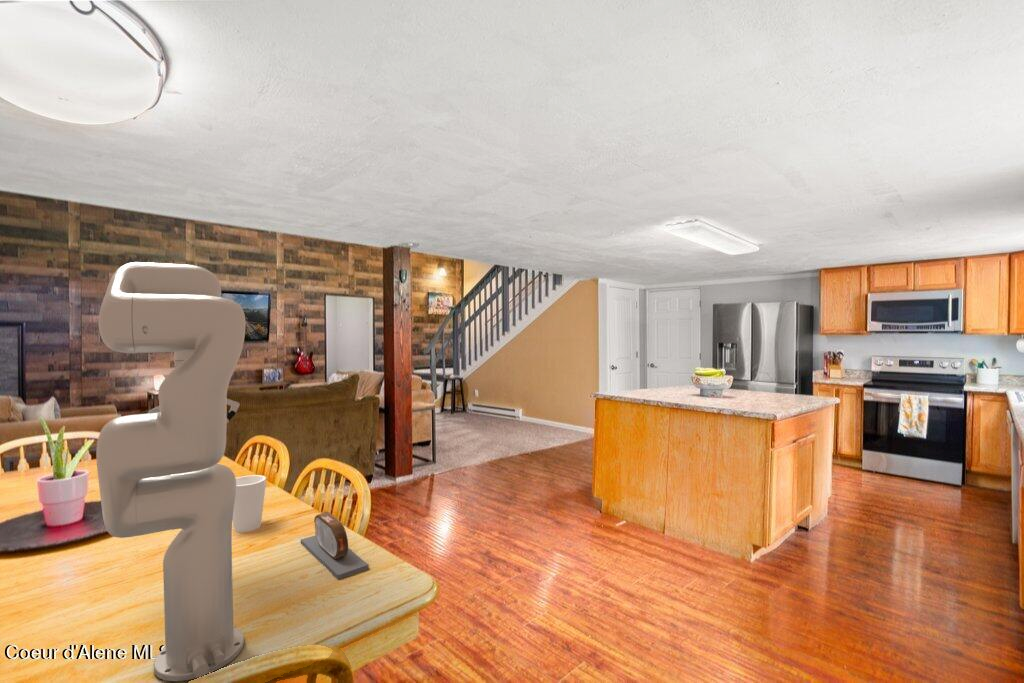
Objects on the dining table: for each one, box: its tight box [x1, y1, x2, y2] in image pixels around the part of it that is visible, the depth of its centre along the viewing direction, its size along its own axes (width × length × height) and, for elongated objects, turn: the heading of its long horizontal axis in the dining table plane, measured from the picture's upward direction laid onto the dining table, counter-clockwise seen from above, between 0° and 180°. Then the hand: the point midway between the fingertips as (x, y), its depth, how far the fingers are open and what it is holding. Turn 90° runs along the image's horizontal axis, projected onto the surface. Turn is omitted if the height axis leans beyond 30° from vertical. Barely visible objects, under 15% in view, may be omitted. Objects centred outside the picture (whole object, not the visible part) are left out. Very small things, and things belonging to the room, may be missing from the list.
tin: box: [313, 510, 349, 559], centre depth 116 cm, size 15×3×8 cm, turn 41°
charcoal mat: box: [300, 535, 370, 580], centre depth 117 cm, size 24×7×1 cm, turn 41°
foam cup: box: [232, 474, 267, 533], centre depth 133 cm, size 10×9×13 cm
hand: (196, 443), depth 110 cm, fingers open, 9 cm apart
